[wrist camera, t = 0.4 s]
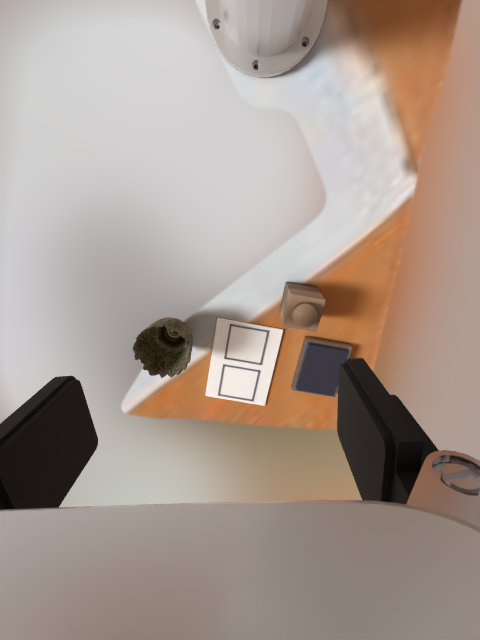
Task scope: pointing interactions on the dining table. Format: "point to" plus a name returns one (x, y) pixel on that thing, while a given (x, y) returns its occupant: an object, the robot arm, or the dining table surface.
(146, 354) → the carved brown lampshade
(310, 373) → the ink pad
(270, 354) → the sheet
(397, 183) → the dining table surface
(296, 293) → the stamp
